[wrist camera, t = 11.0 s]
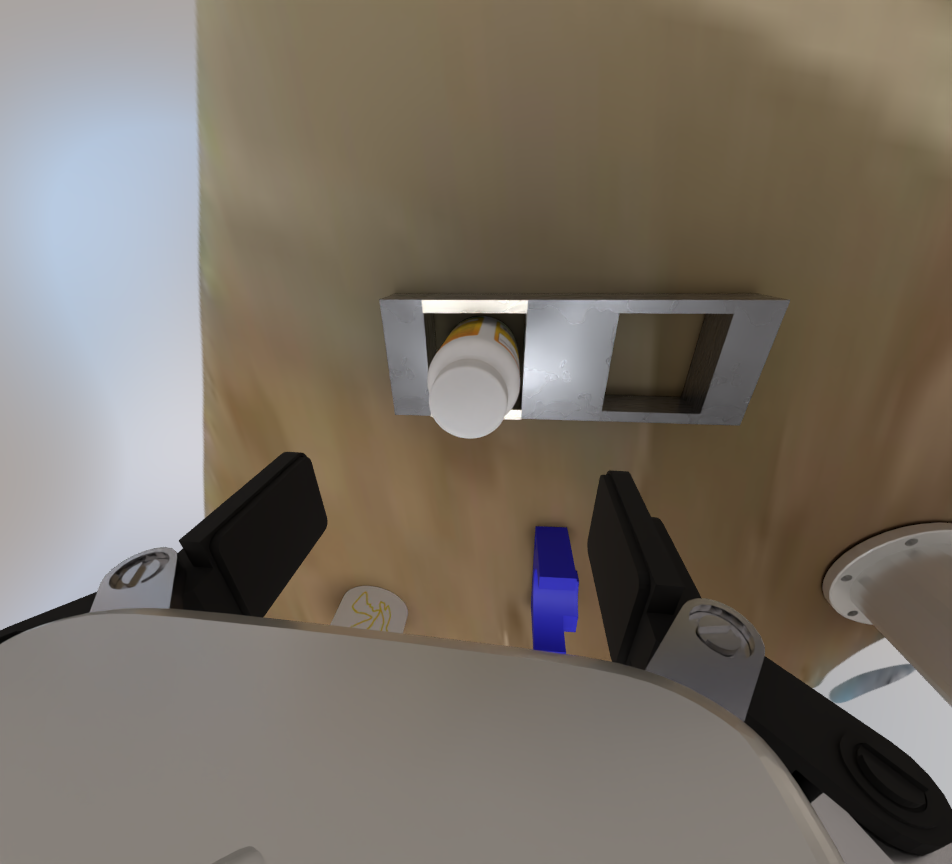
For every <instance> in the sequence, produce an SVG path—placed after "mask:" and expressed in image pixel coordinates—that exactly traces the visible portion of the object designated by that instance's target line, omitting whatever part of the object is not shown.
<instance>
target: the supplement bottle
mask: <svg viewBox="0 0 952 864" xmlns="http://www.w3.org/2000/svg"><path fill="white" fill-rule="evenodd" d="M427 383H428V390H429V407H430V411H431V414H432V416H433V418H434V419H435V421H436V422H437V424H438V425H439V426H440V427H441V428H442V429H444V430H445V431H447V432H448V433H450V434H452V435H454V436H457V437H461V438H479V437H483V436H485V435H488V434H489V433H491V432H493V431H494V430H495V429H496V428H497V427H498V426H499V425H500V424H501V422H502V421H503V419H504V417H505V416H506V415H507V414H508V413H509V412H510V410H511V409H512V408H513V406H514V404H515V403H516V400H517V398H518V395H519V390H520V370H519V354H518V346H517V342H516V339H515V337H514V335H513V333H512V332H511V330H510V329H509V328H508V327H507V326H506V325H505V324H504V323H502V322H501V321H499V320H497V319H495V318H492V317H487V316H475V317H471V318H468V319H466V320H464V321H462V322H461V323H459V324H458V325H457V326H456V327H455V328H454V329H453V330H452V331H451V333H450V334H449V336H448V337H447V339H446V340H445V342H444V343H443V345H442V346H441V347H440V349H439V350H438V352H437V353H436V355H435V356H434V358H433V360H432V362H431V364H430V367H429V371H428V377H427Z"/></svg>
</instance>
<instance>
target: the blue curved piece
mask: <svg viewBox="0 0 952 864" xmlns="http://www.w3.org/2000/svg"><path fill="white" fill-rule="evenodd" d="M578 585H579V580H578V575H577V571H575V566H574V561H573V556H572V550H571V545H570V540H569V535H568V530H567V527H540V526H536V528H535V545H534V563H533V580H532V597H531V614H532V634H533V650H540V651H547V652H554V653H561V654H566V649H565V639H564V631H566V632H576V626H577V620H578Z"/></svg>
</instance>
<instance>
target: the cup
mask: <svg viewBox="0 0 952 864" xmlns="http://www.w3.org/2000/svg"><path fill="white" fill-rule="evenodd" d="M407 616H408V610H407V607H406V605H405V603H404V602H403V601H402V600H401V599H400V598H399V597H398V596H397V595H395V594H394V593H392V592H390V591H388V590H385V589H382V588H379V587H374V586H359V587H355V588H352V589H350V590H349V591H348V592H346V594H345V595H344V597H343V599H342V601H341V603H340V605H339V607H338V609H337V612H336V614H335V616H334V618H333V620H332V622H331V624H330V625H334V626H343V627H351V628H360V629H369V630H377V631H386V632H394V633H403V630H404V627H405V623H406V620H407Z"/></svg>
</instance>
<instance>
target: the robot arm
mask: <svg viewBox="0 0 952 864" xmlns="http://www.w3.org/2000/svg"><path fill="white" fill-rule="evenodd" d="M326 527H327V516H326V513H325V509H324V505H323V502H322V498H321V495H320V491H319V487H318V484H317V480H316V477H315V473H314V469H313V466H312V462H311V460H310V458H308V457H307V456H306V455H305V454H304V453H298V452H284V453H282V454H281V455H280V456H279V457H277V458H276V459H275V460H274V461H273V462H271V463H270V464H269V465H268V466H267V467H266V468H264V469H263V470H262V471H261V472H260V473H258V474H257V475H256V476H255V477H254V478H252V479H251V480H250V481H249V482H248V483H246V484H245V485H244V486H243V487H242V488H241V489H239V490H238V491H237V492H236V493H235V494H233V495H232V496H231V497H230V498H229V499H227V500H226V501H225V502H224V503H223V504H221V505H220V506H219V507H218V508H217V509H216V510H214V511H213V512H212V513H211V514H210V515H208V516H207V517H206V518H205V519H204V520H203V521H201V522H200V523H199V524H198V525H197V526H195V527H194V528H193V529H192V530H191V531H190V532H188V533H187V534H186V535H185V536H183V537H182V538H181V539H180V540H179V542H180V544H181V545H182V547H183V549H182V550H181V551H180V552H179V553H177V552H176V551H175V550H173V549H172V548H167V547H161V548H154V549H150V550H146V551H144V552H141V553H138V554H136V555H134V556H132V557H130V558H128V559H126V560H124V561H123V562H121V563H120V564H118V565H117V566H116V567H114V568H113V569H112V570H111V571H110V572H109V573H108V574H107V575H106V576H105V577H104V579H103V580H102V582H101V584H100V586H99V589H98V591H97V592H95V593H93V594H90V595H88V596H85V597H83V598H80V599H78V600H75V601H72V602H70V603H68V604H65V605H62V606H60V607H57V608H55V609H52V610H50V611H47V612H45V613H42V614H40V615H37V616H34V617H32V618H29V619H27V620H24V621H22V622H19V623H17V624H14V625H12V626H9V627H7V628H5V629H3V630H0V864H952V809H951V807H950V805H949V803H948V801H947V799H946V798H945V796H944V794H943V793H942V791H941V790H940V789H939V788H938V786H937V785H936V784H935V782H934V781H933V780H932V778H931V777H930V776H929V775H928V774H927V773H926V772H925V771H924V770H923V769H922V768H921V767H920V766H919V765H918V764H917V763H916V762H915V761H914V760H913V759H912V758H911V757H910V756H909V755H907V754H906V753H905V752H903V751H902V750H901V749H899V748H898V747H897V746H896V745H894V744H893V743H892V742H890V741H889V740H887V739H886V738H885V737H883V736H882V735H880V734H878V733H877V732H876V731H874V730H873V729H871V728H870V727H868V726H867V725H865V724H864V723H862V722H861V721H860V720H858V719H856V718H855V717H854V716H852V715H851V714H849V713H848V712H846V711H845V710H843V709H842V708H840V707H839V706H837V705H836V704H835V703H833V702H832V701H830V700H829V699H827V698H826V697H824V696H823V695H821V694H820V693H818V692H817V691H815V690H814V689H812V688H811V687H809V686H808V685H807V684H805V683H804V682H802V681H801V680H799V679H798V678H796V677H795V676H793V675H792V674H790V673H789V672H787V671H786V670H784V669H783V668H781V667H780V666H779V665H777V664H776V663H774V662H773V661H771V660H770V659H768V658H767V657H765V656H764V655H765V647H764V644H763V641H762V639H761V636H760V635H759V633H758V632H757V631H756V629H755V628H754V626H753V625H752V624H751V623H750V622H749V621H748V620H747V619H746V618H745V617H744V616H743V615H741V614H740V613H738V612H737V611H735V610H734V609H732V608H731V607H729V606H727V605H724V604H722V603H720V602H718V601H714V600H710V599H702V598H701V596H700V594H699V592H698V590H697V588H696V586H695V584H694V583H693V581H692V579H691V577H690V575H689V573H688V571H687V569H686V567H685V565H684V563H683V561H682V559H681V557H680V555H679V553H678V552H677V550H676V548H675V546H674V544H673V542H672V540H671V538H670V536H669V534H668V532H667V530H666V528H665V526H664V524H663V523H662V521H661V520H660V519H659V518H655V517H651V516H650V514H649V512H648V510H647V508H646V506H645V503H644V501H643V499H642V497H641V495H640V493H639V491H638V489H637V487H636V485H635V483H634V481H633V479H632V477H631V475H630V473H629V472H626V471H608V472H607V474H606V475H601V476H600V480H599V485H598V490H597V495H596V500H595V505H594V511H593V516H592V521H591V526H590V531H589V536H588V544H587V547H588V555H589V559H590V564H591V568H592V573H593V578H594V582H595V587H596V591H597V596H598V601H599V605H600V610H601V614H602V619H603V624H604V628H605V633H606V637H607V642H608V647H609V651H610V656H611V660H612V662H609V661H604V660H599V659H593V658H588V657H583V656H575V655H568V654H561V653H554V652H547V651H540V650H532V649H525V648H518V647H510V646H502V645H494V644H485V643H477V642H469V641H461V640H453V639H444V638H436V637H428V636H420V635H411V634H403V633H394V632H386V631H377V630H369V629H360V628H351V627H343V626H334V625H325V624H317V623H308V622H299V621H290V620H281V619H272V618H263V617H264V616H265V614H266V613H267V611H268V610H269V609H270V607H271V606H272V604H273V603H274V602H275V600H276V599H277V597H278V596H279V594H280V593H281V592H282V590H283V589H284V587H285V586H286V585H287V583H288V582H289V580H290V579H291V578H292V576H293V575H294V573H295V572H296V571H297V569H298V568H299V566H300V565H301V563H302V562H303V561H304V559H305V558H306V556H307V555H308V554H309V552H310V551H311V549H312V548H313V547H314V545H315V544H316V542H317V541H318V539H319V538H320V537H321V535H322V534H323V532H324V531H325V529H326ZM822 589H823V593H824V597H825V598H826V600H827V601H828V603H829V604H830V605H831V606H832V607H833V608H834V609H835V610H836V611H837V612H838V613H839V614H840V615H842V616H843V617H845V618H848V619H851V620H853V621H856V622H861V623H865V624H872V625H874V626H875V627H876V628H877V629H878V630H879V631H880V632H881V633H882V634H883V635H884V637H885V638H886V639H887V640H888V641H889V642H890V643H891V644H892V645H893V646H894V647H895V648H896V649H897V650H898V651H899V652H900V653H901V654H902V655H903V656H904V658H905V659H906V660H907V661H908V662H909V663H910V664H911V665H912V666H913V667H914V668H915V669H916V670H917V671H918V672H919V673H920V674H921V675H922V676H923V677H924V679H925V680H926V681H927V682H928V683H929V684H930V685H931V686H932V687H933V688H934V689H935V690H936V691H937V692H938V693H939V694H940V695H941V696H942V697H943V698H944V700H945V701H946V702H947V703H948V704H949V705H950V706H951V707H952V523H925V524H917V525H912V526H906V527H902V528H898V529H894V530H891V531H887V532H885V533H882V534H879V535H877V536H874V537H872V538H870V539H868V540H866V541H864V542H862V543H860V544H858V545H856V546H855V547H853V548H852V549H850V550H849V551H847V552H846V553H844V554H843V555H842V556H841V557H840V558H839V559H838V560H837V561H835V562H834V564H833V565H832V566H831V568H830V569H829V570H828V572H827V574H826V576H825V578H824V581H823V588H822Z"/></svg>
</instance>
